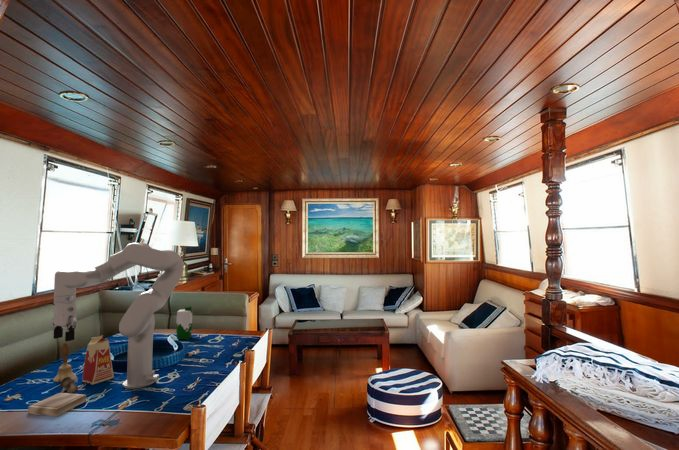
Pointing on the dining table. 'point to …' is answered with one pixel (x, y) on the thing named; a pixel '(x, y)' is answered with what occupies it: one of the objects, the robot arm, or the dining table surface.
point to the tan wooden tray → (57, 404)
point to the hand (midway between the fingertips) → (63, 339)
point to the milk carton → (97, 361)
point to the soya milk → (184, 323)
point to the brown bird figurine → (69, 384)
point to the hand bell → (64, 366)
